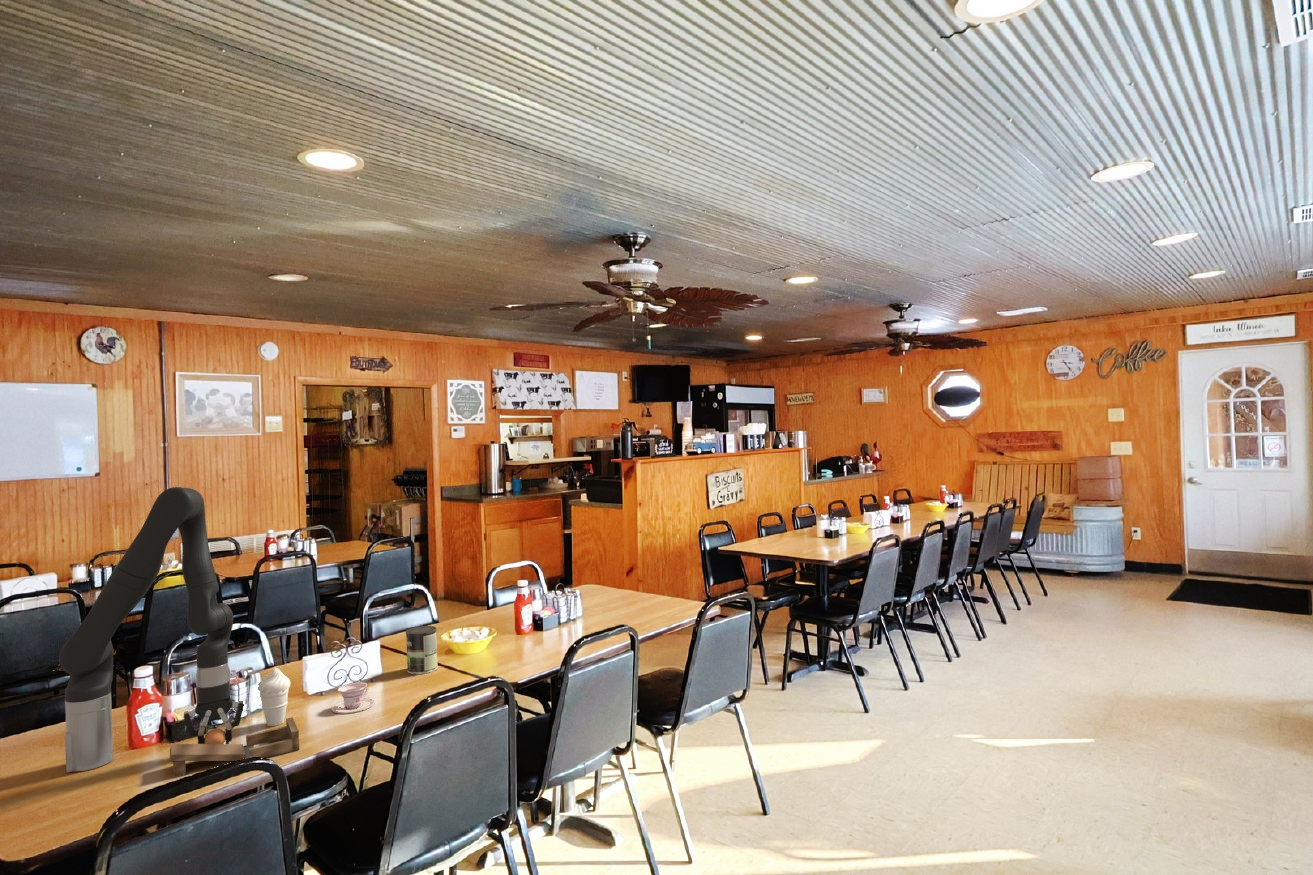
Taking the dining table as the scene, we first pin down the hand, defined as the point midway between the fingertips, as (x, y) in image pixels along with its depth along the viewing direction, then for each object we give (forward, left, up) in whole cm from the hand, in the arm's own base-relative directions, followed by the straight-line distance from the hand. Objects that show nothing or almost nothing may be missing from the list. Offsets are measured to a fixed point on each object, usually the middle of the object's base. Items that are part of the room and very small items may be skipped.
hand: (215, 745), depth 191 cm
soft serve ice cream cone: (+15, +10, -1) cm, 18 cm away
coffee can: (+63, +33, -1) cm, 71 cm away
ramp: (-2, -9, -1) cm, 10 cm away
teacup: (+36, +10, -1) cm, 37 cm away
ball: (0, 0, +2) cm, 2 cm away
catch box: (+12, -9, -1) cm, 15 cm away
